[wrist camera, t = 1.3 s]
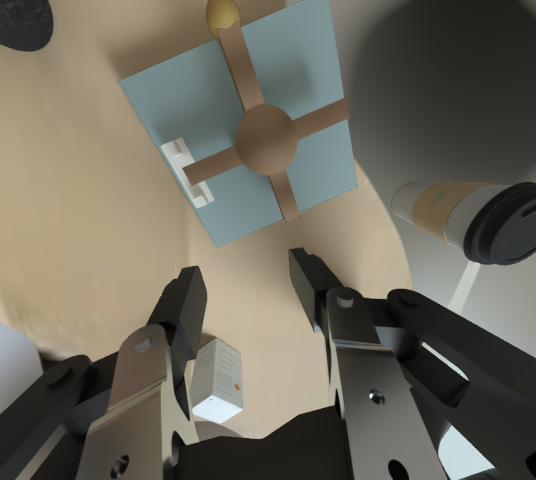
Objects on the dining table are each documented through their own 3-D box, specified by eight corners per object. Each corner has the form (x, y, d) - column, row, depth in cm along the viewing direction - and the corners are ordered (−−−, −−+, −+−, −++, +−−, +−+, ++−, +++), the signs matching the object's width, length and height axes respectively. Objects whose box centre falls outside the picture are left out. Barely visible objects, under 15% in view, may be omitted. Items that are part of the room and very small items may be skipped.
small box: (196, 350, 39) (184, 412, 30) (216, 336, 39) (211, 395, 29) (222, 365, 43) (219, 425, 33) (241, 352, 42) (244, 410, 33)
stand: (346, 184, 30) (366, 189, 25) (218, 238, 30) (215, 254, 25) (314, 2, 20) (336, -40, 16) (129, 84, 21) (100, 65, 16)
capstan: (340, 184, 26) (362, 191, 21) (227, 232, 26) (226, 249, 22) (302, -12, 17) (326, -69, 13) (135, 62, 18) (102, 31, 13)
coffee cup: (411, 159, 30) (558, 163, 16) (441, 190, 33) (585, 215, 19) (370, 209, 32) (468, 250, 19) (402, 233, 35) (505, 283, 22)
